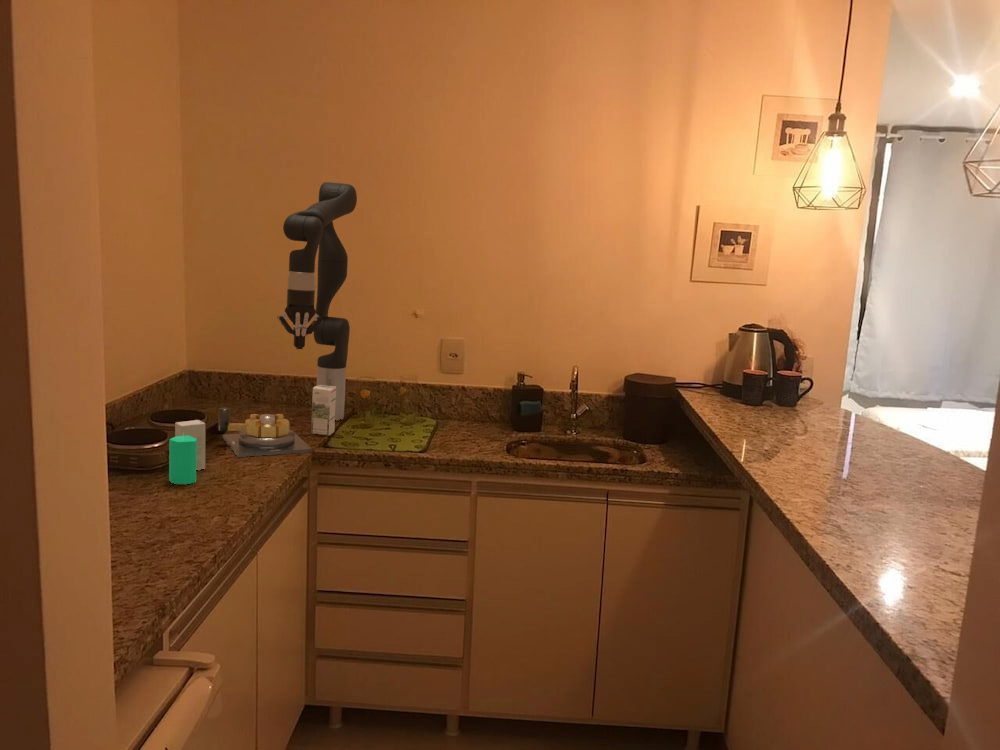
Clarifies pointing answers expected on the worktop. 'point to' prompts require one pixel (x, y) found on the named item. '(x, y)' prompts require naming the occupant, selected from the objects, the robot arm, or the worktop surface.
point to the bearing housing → (266, 442)
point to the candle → (182, 459)
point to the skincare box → (196, 431)
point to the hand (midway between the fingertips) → (298, 348)
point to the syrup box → (323, 410)
